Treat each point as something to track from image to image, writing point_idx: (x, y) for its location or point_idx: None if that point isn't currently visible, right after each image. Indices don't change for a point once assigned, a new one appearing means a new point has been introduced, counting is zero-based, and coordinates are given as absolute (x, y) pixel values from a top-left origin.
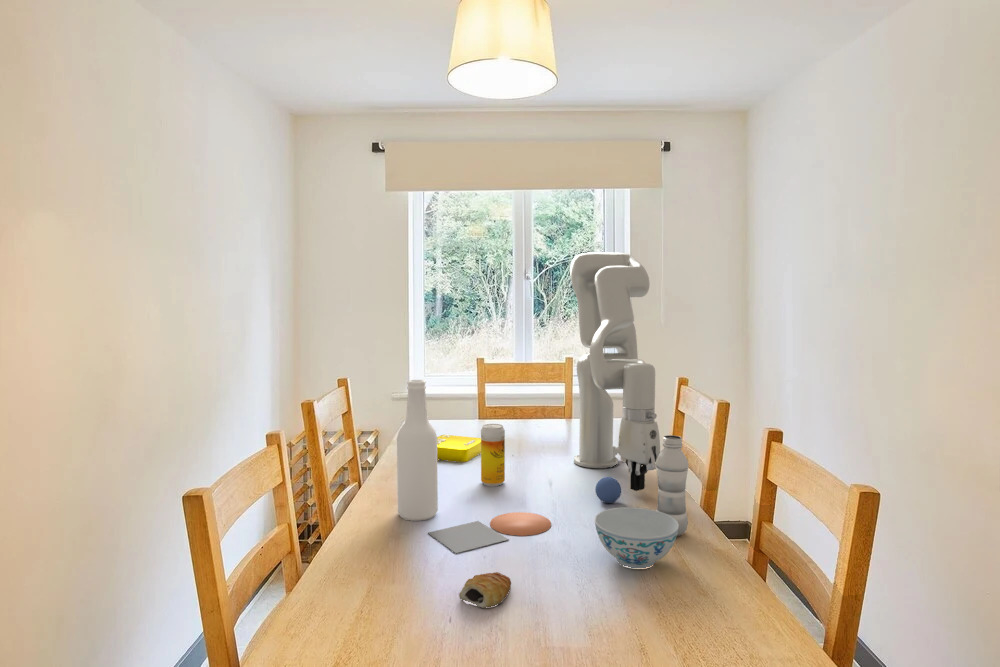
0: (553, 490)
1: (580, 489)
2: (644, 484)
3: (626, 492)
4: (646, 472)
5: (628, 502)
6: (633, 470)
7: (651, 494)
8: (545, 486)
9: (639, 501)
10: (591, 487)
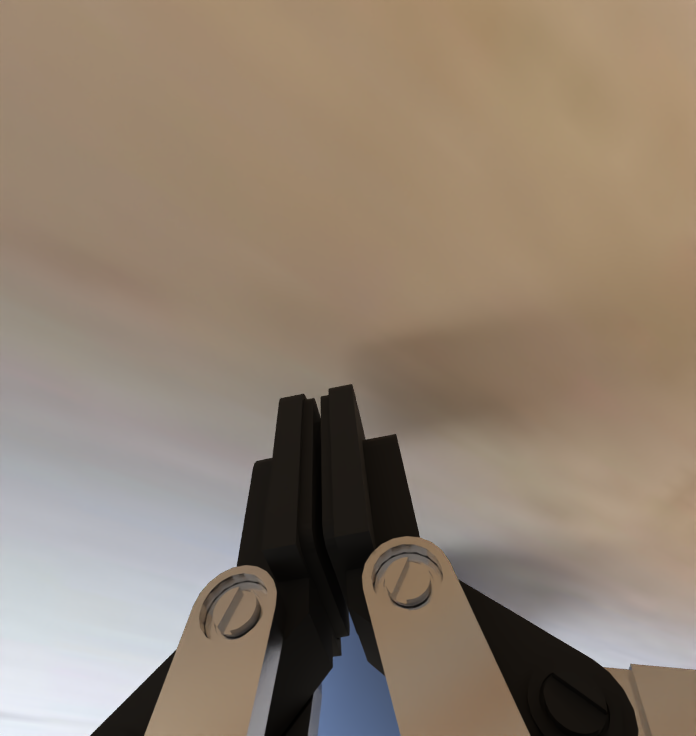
0: (97, 719)
1: (94, 638)
2: (354, 409)
3: (226, 441)
4: (448, 564)
5: (442, 518)
6: (314, 678)
7: (356, 268)
8: (19, 729)
9: (464, 452)
10: (54, 586)
